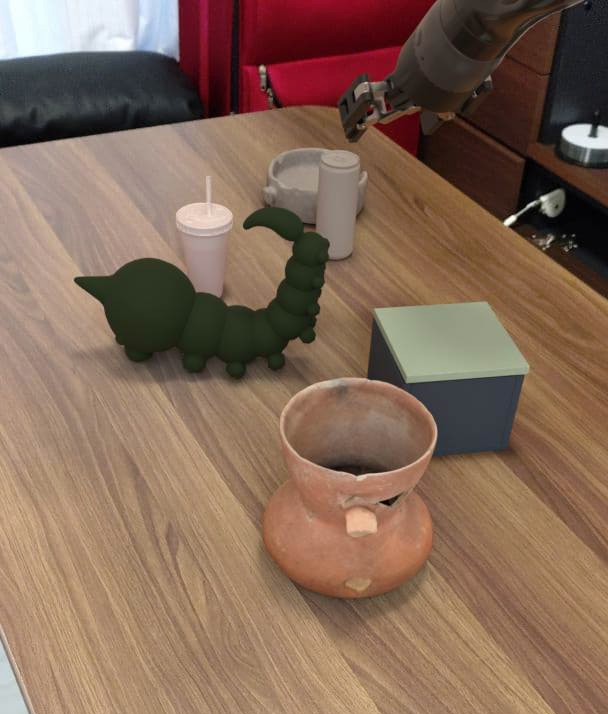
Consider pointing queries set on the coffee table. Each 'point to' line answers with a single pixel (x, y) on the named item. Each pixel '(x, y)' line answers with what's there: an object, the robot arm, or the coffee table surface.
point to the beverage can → (338, 201)
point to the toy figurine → (215, 305)
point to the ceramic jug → (352, 488)
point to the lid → (449, 342)
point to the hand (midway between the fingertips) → (388, 130)
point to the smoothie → (205, 242)
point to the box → (455, 403)
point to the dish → (300, 183)
